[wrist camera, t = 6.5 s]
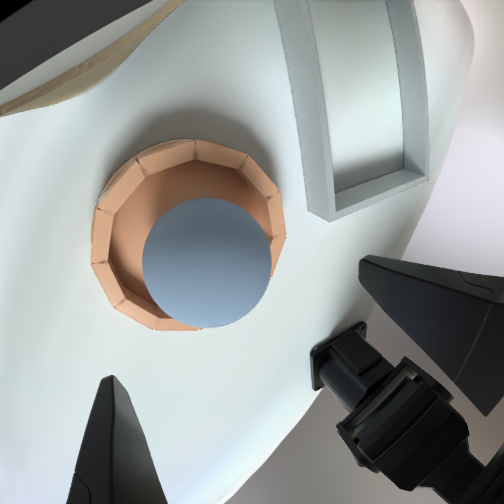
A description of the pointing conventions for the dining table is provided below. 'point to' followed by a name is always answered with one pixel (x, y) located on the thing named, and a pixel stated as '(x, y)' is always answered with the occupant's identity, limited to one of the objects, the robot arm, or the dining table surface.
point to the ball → (206, 262)
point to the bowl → (160, 201)
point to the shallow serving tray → (315, 116)
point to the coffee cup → (67, 46)
